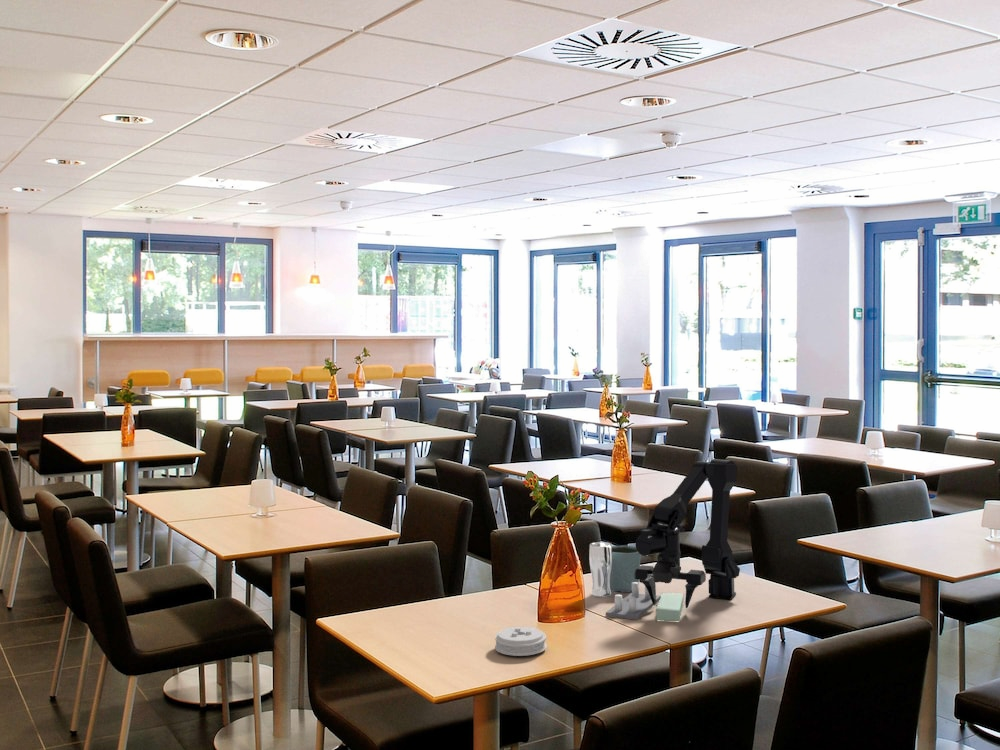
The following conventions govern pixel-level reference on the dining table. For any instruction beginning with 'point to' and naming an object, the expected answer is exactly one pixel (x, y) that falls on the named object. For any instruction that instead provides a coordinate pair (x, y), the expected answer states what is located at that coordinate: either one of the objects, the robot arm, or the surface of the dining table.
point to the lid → (520, 641)
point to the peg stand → (632, 604)
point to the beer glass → (601, 568)
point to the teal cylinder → (624, 567)
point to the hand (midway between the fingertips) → (670, 606)
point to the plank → (670, 607)
